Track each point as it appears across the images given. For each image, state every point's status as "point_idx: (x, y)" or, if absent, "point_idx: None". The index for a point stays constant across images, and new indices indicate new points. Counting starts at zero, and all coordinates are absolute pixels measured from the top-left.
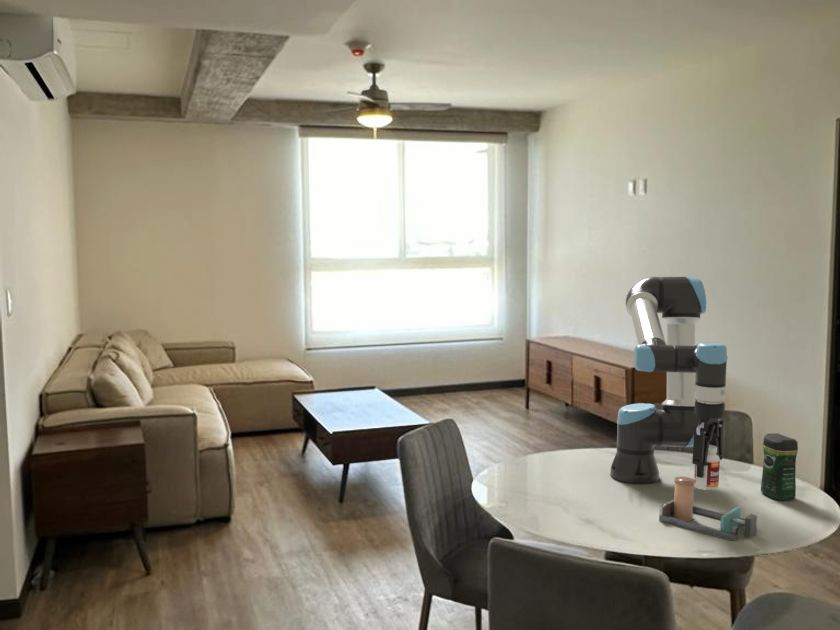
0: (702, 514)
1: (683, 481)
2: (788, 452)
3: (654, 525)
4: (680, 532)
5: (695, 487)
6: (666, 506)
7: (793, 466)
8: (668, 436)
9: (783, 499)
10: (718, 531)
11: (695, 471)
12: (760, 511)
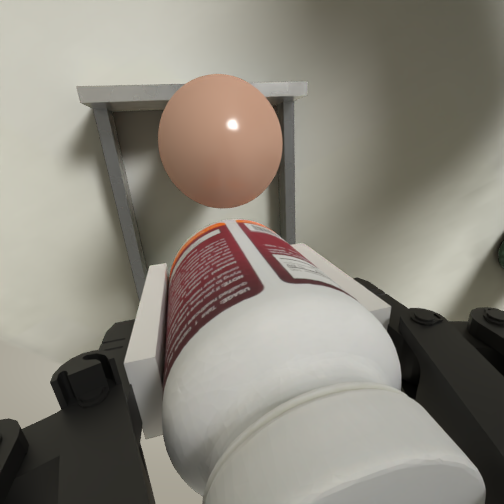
0: (279, 179)
1: (180, 164)
2: None
3: (33, 113)
4: (68, 219)
5: (150, 265)
6: (126, 102)
7: None
8: None
9: (501, 265)
10: None
11: (184, 277)
12: (402, 268)
